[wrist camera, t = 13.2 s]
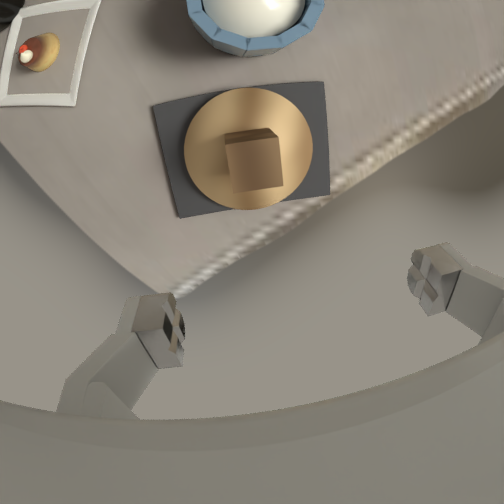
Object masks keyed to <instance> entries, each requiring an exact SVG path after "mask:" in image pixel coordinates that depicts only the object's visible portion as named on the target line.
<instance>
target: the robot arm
mask: <svg viewBox="0 0 504 504" xmlns="http://www.w3.org/2000/svg"><path fill="white" fill-rule="evenodd" d="M411 261H412V263H413V265H412V266H411V268H410V269H409V271H408V276H407V281H408V286H409V289H410V291H411V292H412V294H413V295H414V296H416V297H418V298H420V302H419V304H420V306H421V307H422V308H423V310H424V311H425V313H426V314H427V316H431V315H434V314H437V313H440V312H443V311H446V312H447V313H448V314H450V315H451V316H453V317H454V318H455V319H457V320H458V321H460V322H461V323H463V324H464V325H466V326H467V327H468V328H470V329H471V330H473V331H474V332H476V333H477V334H479V335H480V336H481V337H482V339H481V340H480V342H479V344H478V345H477V346H475V347H473V348H471V349H469V350H467V351H465V352H462V353H461V354H459V355H456V356H454V357H452V358H450V359H447V360H445V361H443V362H440V363H438V364H435V365H433V366H431V367H428V368H426V369H423V370H421V371H418V372H415V373H413V374H410V375H407V376H405V377H402V378H399V379H396V380H393V381H390V382H387V383H384V384H381V385H378V386H375V387H371V388H368V389H365V390H361V391H358V392H354V393H351V394H347V395H343V396H339V397H335V398H331V399H328V400H323V401H319V402H314V403H309V404H305V405H300V406H295V407H289V408H284V409H278V410H272V411H265V412H259V413H251V414H243V415H234V416H225V417H213V418H199V419H179V420H178V419H175V420H140V419H139V418H138V417H137V416H136V415H135V414H134V413H133V412H132V411H131V410H132V408H133V406H134V405H135V404H136V402H137V401H138V399H139V398H140V396H141V395H142V393H143V392H144V390H145V389H146V388H147V386H148V385H149V383H150V382H151V380H152V379H153V377H154V376H155V374H156V373H157V371H158V369H161V368H172V367H181V366H183V355H184V349H183V347H182V345H181V343H182V342H183V341H184V339H185V325H184V320H183V317H182V314H181V312H180V311H179V310H177V309H176V299H175V297H174V295H173V294H172V293H171V292H170V293H161V294H153V295H144V296H138V297H130V298H128V299H127V300H126V302H125V305H124V308H123V311H122V314H121V317H120V320H119V324H118V327H117V330H116V333H115V334H111V335H110V336H109V337H108V338H107V339H106V340H105V341H104V342H103V343H102V344H101V345H100V346H99V347H98V348H97V349H96V350H95V351H94V352H93V353H92V354H91V355H90V356H89V357H88V358H87V359H86V360H85V361H84V362H83V363H82V364H81V365H80V366H79V367H78V368H77V369H76V370H75V371H74V372H73V373H72V374H71V375H70V376H69V377H68V378H67V379H66V380H65V383H64V387H63V390H62V393H61V397H60V401H59V404H58V407H57V411H56V412H53V411H47V410H41V409H36V408H31V407H26V406H21V405H17V404H12V403H9V402H5V401H1V400H0V504H504V278H502V277H500V276H498V275H495V274H493V273H491V272H489V271H487V270H484V269H482V268H480V267H477V266H474V267H473V266H472V265H471V264H470V263H469V262H468V261H467V260H466V259H465V258H464V257H463V256H462V255H461V254H460V253H459V252H458V251H457V250H456V249H455V248H454V247H453V246H452V245H451V244H450V243H447V242H445V243H441V244H437V245H435V246H430V247H425V248H421V249H417V250H414V252H413V253H412V257H411Z"/></svg>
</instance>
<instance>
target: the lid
mask: <svg viewBox="0 0 504 504" xmlns="http://www.w3.org/2000/svg"><path fill="white" fill-rule="evenodd" d="M312 152H313V143H312V136H311V132H310V129H309V126H308V124H307V122H306V120H305V118H304V116H303V115H302V113H301V112H300V111H299V110H298V108H297V107H296V106H295V105H293V104H292V103H291V102H290V101H289V100H287V99H286V98H284V97H283V96H281V95H279V94H277V93H274V92H272V91H269V90H265V89H260V88H238V89H233V90H230V91H227V92H224V93H222V94H220V95H218V96H216V97H214V98H213V99H211V100H210V101H208V102H207V103H206V104H205V105H204V106H203V107H202V108H201V109H200V110H199V111H198V113H197V114H196V115H195V117H194V118H193V120H192V121H191V123H190V126H189V128H188V130H187V134H186V137H185V143H184V157H185V163H186V167H187V170H188V172H189V174H190V177H191V178H192V180H193V182H194V183H195V185H196V186H197V187H198V188H199V190H200V191H201V192H203V193H204V194H205V195H206V196H207V197H209V198H210V199H211V200H213V201H215V202H217V203H219V204H221V205H223V206H226V207H230V208H234V209H241V210H253V209H260V208H265V207H268V206H271V205H273V204H275V203H278V202H280V201H281V200H283V199H284V198H286V197H287V196H289V195H290V194H291V193H292V192H293V191H294V190H295V189H296V188H297V187H298V186H299V185H300V183H301V182H302V181H303V179H304V177H305V176H306V174H307V171H308V169H309V167H310V163H311V159H312Z"/></svg>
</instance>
